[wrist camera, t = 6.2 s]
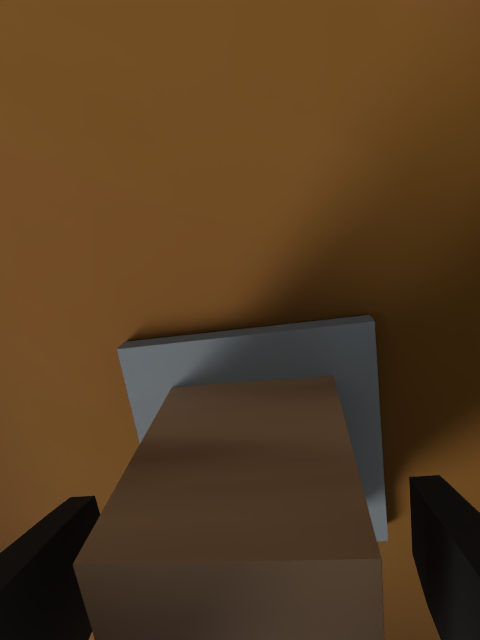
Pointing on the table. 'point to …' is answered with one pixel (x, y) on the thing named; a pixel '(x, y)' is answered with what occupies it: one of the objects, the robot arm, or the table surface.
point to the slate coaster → (273, 378)
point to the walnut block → (238, 523)
